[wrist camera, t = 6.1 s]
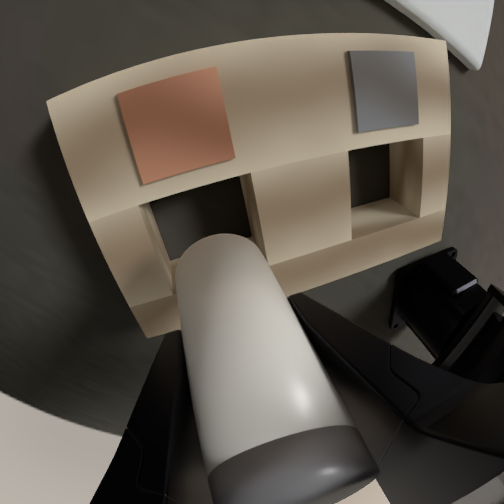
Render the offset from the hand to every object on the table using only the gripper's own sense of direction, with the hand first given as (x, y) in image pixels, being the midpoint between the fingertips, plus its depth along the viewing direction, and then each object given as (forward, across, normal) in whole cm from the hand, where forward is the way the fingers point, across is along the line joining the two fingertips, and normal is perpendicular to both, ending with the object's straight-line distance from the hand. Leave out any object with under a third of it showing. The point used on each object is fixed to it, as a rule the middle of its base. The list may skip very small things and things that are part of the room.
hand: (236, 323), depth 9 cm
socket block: (+8, -4, -2) cm, 9 cm away
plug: (+2, 0, 0) cm, 2 cm away
